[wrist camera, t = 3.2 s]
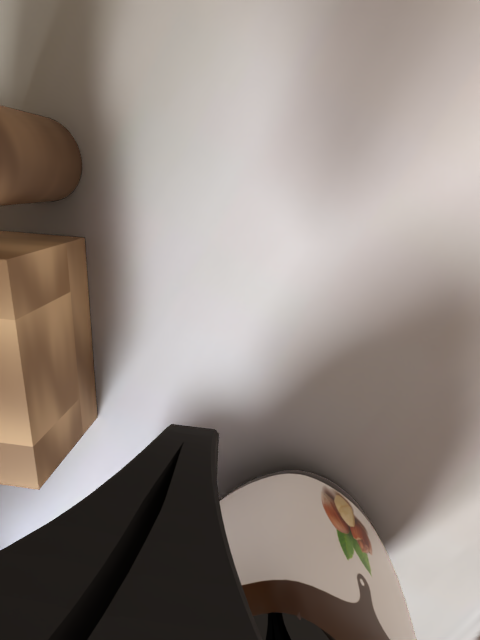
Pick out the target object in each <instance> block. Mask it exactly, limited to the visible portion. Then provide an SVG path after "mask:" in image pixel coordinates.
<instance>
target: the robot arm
mask: <svg viewBox="0 0 480 640" xmlns="http://www.w3.org/2000/svg"><path fill="white" fill-rule="evenodd" d="M218 441H219V433H218V432H217V431H216V430H214V429H206V428H198V427H190V426H182V425H174V424H171V425H170V426H168V427H167V428H166V429H165V430H164V431H163V432H162V433H161V434H160V435H159V436H158V437H157V438H156V439H155V440H153V441H152V442H151V443H150V444H149V445H148V446H147V447H146V448H145V449H144V450H143V451H142V452H141V453H139V454H138V455H137V456H136V457H135V458H134V459H133V460H131V461H130V462H129V463H128V464H127V465H126V466H125V467H123V468H122V469H121V470H120V471H119V472H118V473H116V474H115V475H114V476H113V477H111V478H110V479H109V480H108V481H106V482H105V483H104V484H103V485H101V486H100V487H99V488H98V489H96V490H95V491H94V492H92V493H91V494H90V495H88V496H87V497H86V498H84V499H83V500H82V501H80V502H79V503H77V504H76V505H75V506H73V507H72V508H70V509H69V510H67V511H66V512H64V513H63V514H61V515H60V516H58V517H57V518H55V519H54V520H52V521H51V522H49V523H47V524H46V525H44V526H42V527H41V528H39V529H37V530H35V531H34V532H32V533H30V534H28V535H27V536H25V537H23V538H22V539H20V540H18V541H16V542H15V543H13V544H11V545H10V546H8V547H6V548H4V549H2V550H0V640H263V639H262V637H261V634H260V632H259V630H258V627H257V625H256V622H255V620H254V617H253V615H252V612H251V610H250V607H249V604H248V602H247V599H246V596H245V593H244V590H243V587H242V585H241V582H240V579H239V576H238V573H237V570H236V567H235V564H234V561H233V557H232V554H231V550H230V547H229V543H228V539H227V535H226V531H225V527H224V523H223V518H222V513H221V508H220V502H219V496H218V490H217V461H218Z"/></svg>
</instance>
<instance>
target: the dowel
mask: <svg viewBox="0 0 480 640" xmlns="http://www.w3.org/2000/svg"><path fill="white" fill-rule="evenodd" d="M81 172H82V160H81V155H80V151H79V148H78V145H77V143H76V141H75V140H74V138H73V136H72V135H71V134H70V133H69V131H68V130H67V129H66V128H65V127H64V126H62V125H61V124H60V123H58V122H56V121H55V120H52V119H50V118H47V117H43V116H39V115H35V114H31V113H28V112H24V111H20V110H16V109H12V108H8V107H4V106H0V206H5V205H16V204H27V203H38V202H49V201H57V200H61V199H63V198H65V197H67V196H68V195H70V194H71V193H72V192H73V191H74V189H75V188H76V186H77V185H78V183H79V180H80V177H81Z"/></svg>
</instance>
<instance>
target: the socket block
mask: <svg viewBox="0 0 480 640" xmlns="http://www.w3.org/2000/svg"><path fill="white" fill-rule="evenodd" d="M96 418H97V403H96V389H95V375H94V361H93V347H92V333H91V319H90V305H89V291H88V277H87V264H86V250H85V238H83V237H71V236H59V235H46V234H34V233H22V232H10V231H0V484H3V485H10V486H17V487H24V488H31V489H38V490H39V489H40V488H41V487H42V485H43V484H44V483H45V482H46V480H47V479H48V478H49V477H50V475H51V474H52V473H53V472H54V471H55V469H56V468H57V467H58V466H59V464H60V463H61V462H62V461H63V459H64V458H65V457H66V456H67V454H68V453H69V452H70V451H71V449H72V448H73V447H74V446H75V444H76V443H77V442H78V441H79V440H80V438H81V437H82V436H83V435H84V433H85V432H86V431H87V430H88V428H89V427H90V426H91V425H92V423H93V422H94V421H95V420H96Z"/></svg>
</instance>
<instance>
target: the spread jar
mask: <svg viewBox="0 0 480 640" xmlns="http://www.w3.org/2000/svg"><path fill="white" fill-rule="evenodd" d="M219 502H220V508H221V513H222V518H223V523H224V527H225V531H226V535H227V539H228V543H229V547H230V550H231V554H232V557H233V561H234V564H235V567H236V570H237V573H238V576H239V579H240V582H241V585H242V587H243V590H244V593H245V596H246V599H247V602H248V604H249V607H250V610H251V612H252V615H253V617H254V620H255V622H256V625H257V627H258V630H259V632H260V634H261V637H262V639H263V640H417V639H416V635H415V632H414V628H413V624H412V621H411V617H410V614H409V610H408V607H407V604H406V601H405V598H404V595H403V592H402V589H401V586H400V583H399V580H398V577H397V575H396V572H395V570H394V568H393V565H392V563H391V560H390V558H389V556H388V553H387V552H386V550H385V548H384V546H383V544H382V542H381V540H380V538H379V536H378V534H377V532H376V531H375V529H374V527H373V525H372V524H371V522H370V520H369V519H368V517H367V516H366V514H365V513H364V511H363V510H362V509H361V507H360V506H359V505H358V503H357V502H356V501H355V500H354V499H353V498H352V497H351V496H350V495H349V494H348V493H347V492H346V491H345V490H343V489H342V488H341V487H339V486H338V485H336V484H335V483H333V482H332V481H330V480H328V479H326V478H324V477H322V476H319V475H317V474H314V473H310V472H306V471H300V470H287V471H279V472H274V473H270V474H267V475H264V476H261V477H258V478H256V479H253V480H251V481H249V482H247V483H245V484H243V485H241V486H239V487H238V488H236V489H235V490H233V491H232V492H230V493H229V494H228V495H226V496H225V497H224V498H223V499H222V500H221V501H219Z"/></svg>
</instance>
